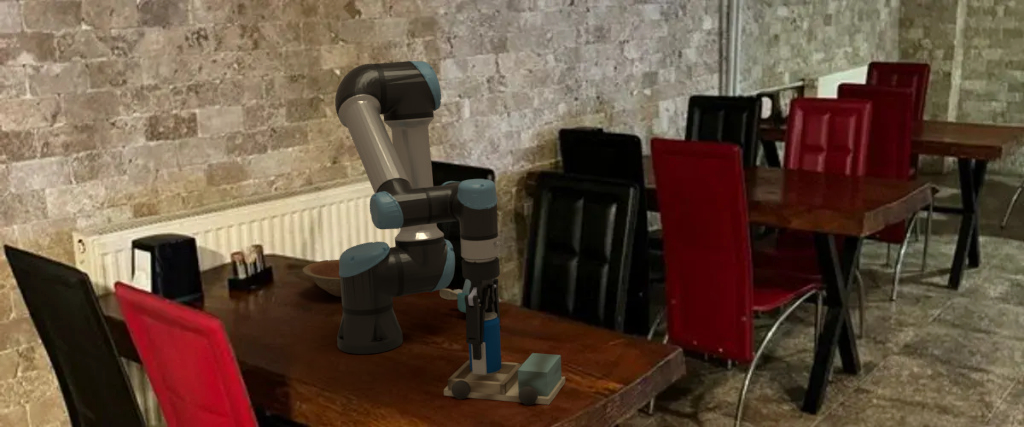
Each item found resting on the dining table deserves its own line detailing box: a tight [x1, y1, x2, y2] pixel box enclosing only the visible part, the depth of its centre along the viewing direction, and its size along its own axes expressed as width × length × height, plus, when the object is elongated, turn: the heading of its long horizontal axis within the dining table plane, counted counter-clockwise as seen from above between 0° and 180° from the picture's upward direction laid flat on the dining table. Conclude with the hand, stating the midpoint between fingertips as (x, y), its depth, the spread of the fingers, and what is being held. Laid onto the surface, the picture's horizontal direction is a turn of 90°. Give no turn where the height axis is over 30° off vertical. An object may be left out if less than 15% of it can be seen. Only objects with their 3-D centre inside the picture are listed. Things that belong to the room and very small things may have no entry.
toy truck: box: [443, 352, 566, 406], centre depth 202 cm, size 22×14×6 cm, turn 72°
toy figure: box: [439, 279, 502, 313], centre depth 251 cm, size 17×10×15 cm, turn 50°
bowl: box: [302, 259, 342, 298], centre depth 276 cm, size 24×24×8 cm
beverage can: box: [468, 312, 502, 376], centre depth 202 cm, size 6×6×12 cm
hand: (485, 367), depth 203 cm, fingers closed on beverage can, 6 cm apart
